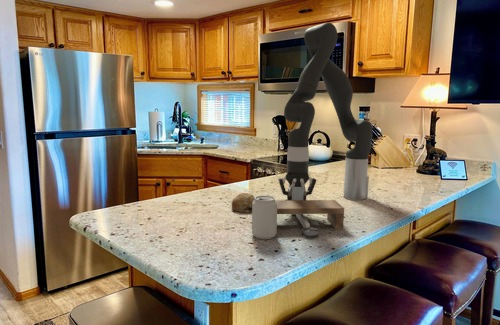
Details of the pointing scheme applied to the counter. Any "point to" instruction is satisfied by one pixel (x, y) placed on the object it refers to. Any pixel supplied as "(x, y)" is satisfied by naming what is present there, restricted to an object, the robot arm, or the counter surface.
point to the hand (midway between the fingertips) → (296, 205)
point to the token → (310, 232)
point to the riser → (314, 209)
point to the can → (264, 217)
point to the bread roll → (243, 202)
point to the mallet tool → (298, 195)
